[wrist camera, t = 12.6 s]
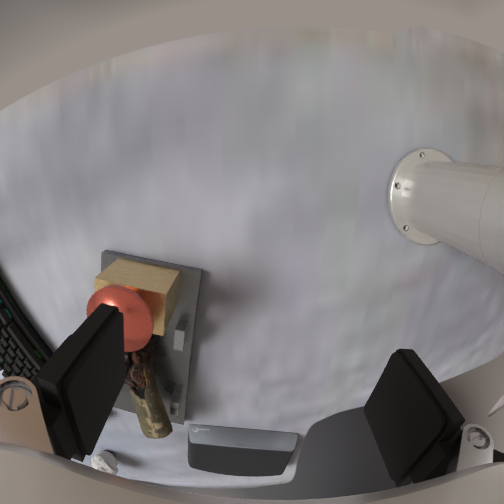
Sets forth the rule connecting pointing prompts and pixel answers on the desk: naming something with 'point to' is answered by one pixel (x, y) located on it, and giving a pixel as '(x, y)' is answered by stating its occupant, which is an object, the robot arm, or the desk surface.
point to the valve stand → (153, 319)
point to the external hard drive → (239, 450)
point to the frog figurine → (105, 462)
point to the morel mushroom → (146, 392)
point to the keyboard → (19, 340)
